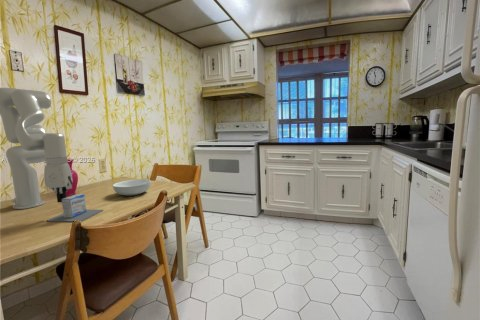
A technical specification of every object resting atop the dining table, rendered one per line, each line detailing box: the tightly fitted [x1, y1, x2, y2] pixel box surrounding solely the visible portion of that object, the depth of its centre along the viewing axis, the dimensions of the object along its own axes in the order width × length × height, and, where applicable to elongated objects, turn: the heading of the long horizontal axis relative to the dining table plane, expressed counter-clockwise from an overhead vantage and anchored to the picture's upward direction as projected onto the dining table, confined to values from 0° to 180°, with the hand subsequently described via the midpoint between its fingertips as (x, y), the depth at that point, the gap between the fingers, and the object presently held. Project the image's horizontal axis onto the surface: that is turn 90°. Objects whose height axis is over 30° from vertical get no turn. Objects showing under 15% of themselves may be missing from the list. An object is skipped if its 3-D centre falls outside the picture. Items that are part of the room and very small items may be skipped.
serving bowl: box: [112, 178, 152, 197], centre depth 142 cm, size 21×21×7 cm
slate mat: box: [45, 209, 104, 223], centre depth 107 cm, size 16×14×1 cm
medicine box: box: [61, 193, 87, 218], centre depth 106 cm, size 8×4×9 cm, turn 171°
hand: (62, 201), depth 107 cm, fingers closed
